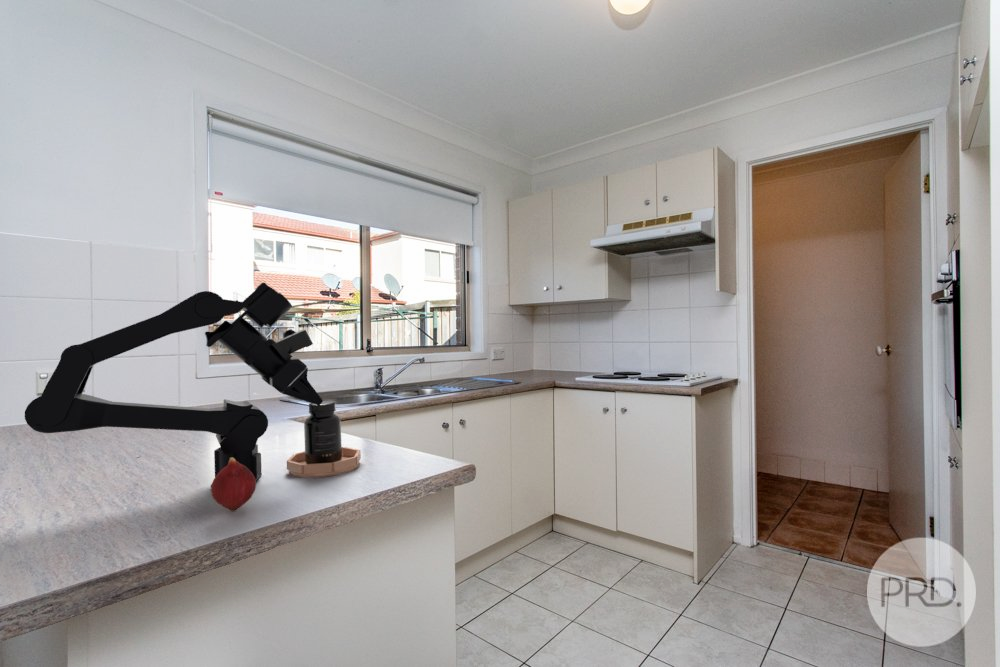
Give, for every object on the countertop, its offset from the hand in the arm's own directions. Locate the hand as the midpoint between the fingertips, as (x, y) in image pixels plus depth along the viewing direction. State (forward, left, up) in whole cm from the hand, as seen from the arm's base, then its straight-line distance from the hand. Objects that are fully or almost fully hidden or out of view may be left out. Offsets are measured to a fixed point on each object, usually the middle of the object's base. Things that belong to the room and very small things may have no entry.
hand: (316, 400), depth 93 cm
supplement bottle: (+1, +1, -13) cm, 13 cm away
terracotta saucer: (+1, +1, -13) cm, 14 cm away
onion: (-8, -20, -14) cm, 26 cm away
